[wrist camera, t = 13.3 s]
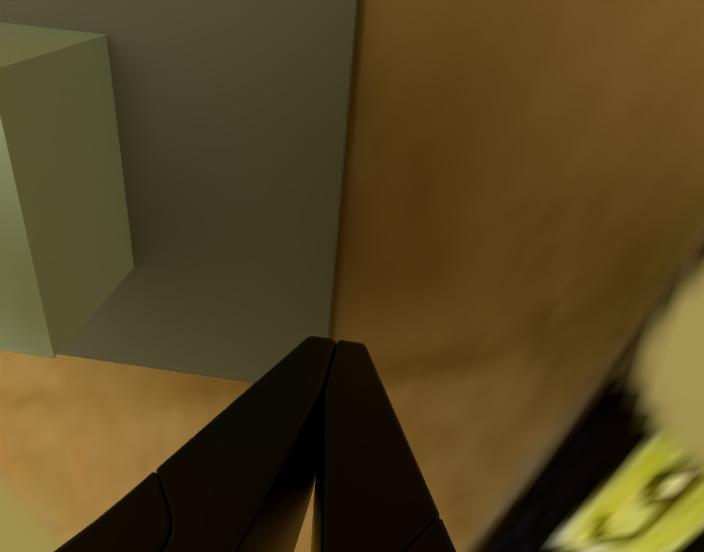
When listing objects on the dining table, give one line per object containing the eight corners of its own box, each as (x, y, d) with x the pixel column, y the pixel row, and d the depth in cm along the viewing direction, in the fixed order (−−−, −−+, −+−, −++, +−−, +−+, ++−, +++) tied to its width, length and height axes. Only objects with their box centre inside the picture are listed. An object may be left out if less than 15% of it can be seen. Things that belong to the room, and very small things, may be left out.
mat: (369, -127, 11) (367, -130, 11) (325, 379, 18) (322, 393, 18) (-386, -203, 12) (-422, -209, 12) (-162, 309, 19) (-179, 319, 18)
